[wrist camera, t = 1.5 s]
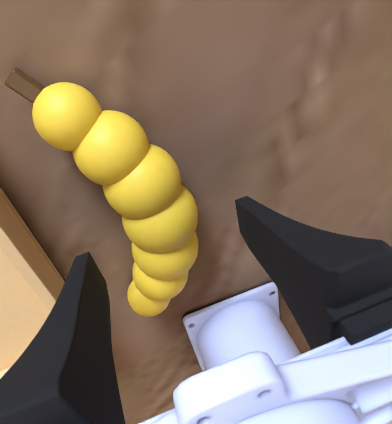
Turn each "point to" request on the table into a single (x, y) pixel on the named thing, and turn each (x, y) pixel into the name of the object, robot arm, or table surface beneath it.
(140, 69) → the table surface
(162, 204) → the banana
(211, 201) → the table surface
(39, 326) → the tray
